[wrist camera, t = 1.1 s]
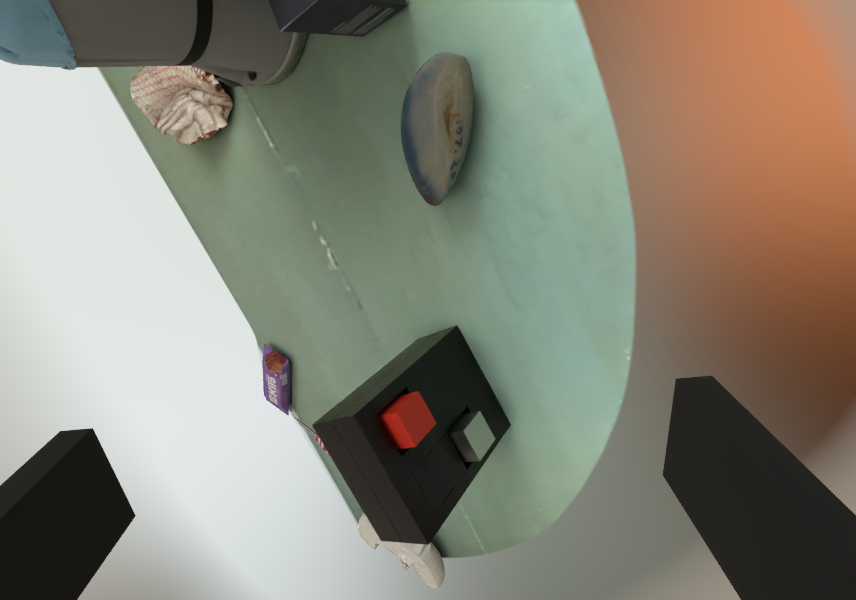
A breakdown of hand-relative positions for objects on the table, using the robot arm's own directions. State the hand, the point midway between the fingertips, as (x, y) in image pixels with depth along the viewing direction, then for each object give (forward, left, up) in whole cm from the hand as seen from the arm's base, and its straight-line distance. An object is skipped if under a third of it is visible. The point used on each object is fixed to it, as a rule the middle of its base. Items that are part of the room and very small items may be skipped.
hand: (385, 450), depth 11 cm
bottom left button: (+24, +5, -25) cm, 35 cm away
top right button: (+22, -1, -19) cm, 29 cm away
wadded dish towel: (+27, -51, -27) cm, 63 cm away
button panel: (+26, +1, -29) cm, 39 cm away
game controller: (+61, +13, -29) cm, 69 cm away
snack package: (+52, -16, -29) cm, 61 cm away
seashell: (+6, -14, -30) cm, 33 cm away
